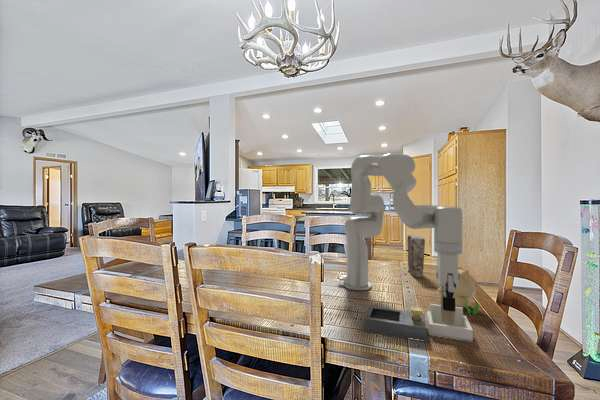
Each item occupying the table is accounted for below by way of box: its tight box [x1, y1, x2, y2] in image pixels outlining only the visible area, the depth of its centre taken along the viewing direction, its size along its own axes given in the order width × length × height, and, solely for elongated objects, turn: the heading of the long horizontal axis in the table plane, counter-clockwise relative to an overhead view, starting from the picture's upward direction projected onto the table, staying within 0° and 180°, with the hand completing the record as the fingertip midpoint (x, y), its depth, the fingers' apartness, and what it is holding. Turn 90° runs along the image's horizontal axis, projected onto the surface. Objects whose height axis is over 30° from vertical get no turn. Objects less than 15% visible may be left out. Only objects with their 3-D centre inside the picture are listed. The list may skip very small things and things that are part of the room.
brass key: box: [410, 306, 423, 321], centre depth 84 cm, size 3×3×7 cm
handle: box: [435, 270, 460, 325], centre depth 84 cm, size 5×6×15 cm
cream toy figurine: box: [437, 268, 479, 315], centre depth 103 cm, size 15×10×15 cm
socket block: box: [363, 305, 428, 342], centre depth 86 cm, size 17×10×4 cm, turn 69°
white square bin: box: [426, 303, 474, 344], centre depth 84 cm, size 11×10×6 cm
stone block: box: [406, 234, 426, 278], centre depth 146 cm, size 13×7×20 cm, turn 177°
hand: (447, 306), depth 84 cm, fingers closed on handle, 3 cm apart
